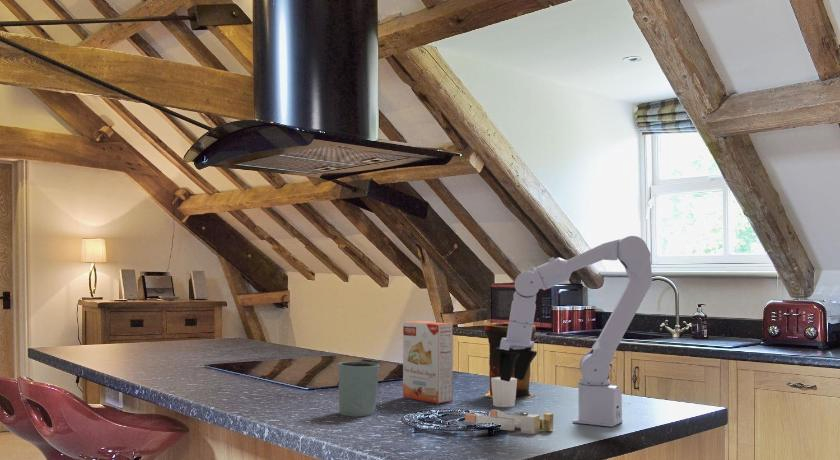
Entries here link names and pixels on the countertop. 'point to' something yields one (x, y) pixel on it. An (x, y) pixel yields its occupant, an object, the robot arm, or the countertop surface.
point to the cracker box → (428, 361)
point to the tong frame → (509, 421)
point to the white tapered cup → (504, 392)
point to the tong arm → (505, 415)
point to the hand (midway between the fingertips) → (512, 379)
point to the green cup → (358, 388)
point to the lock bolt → (546, 422)
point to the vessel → (494, 337)
